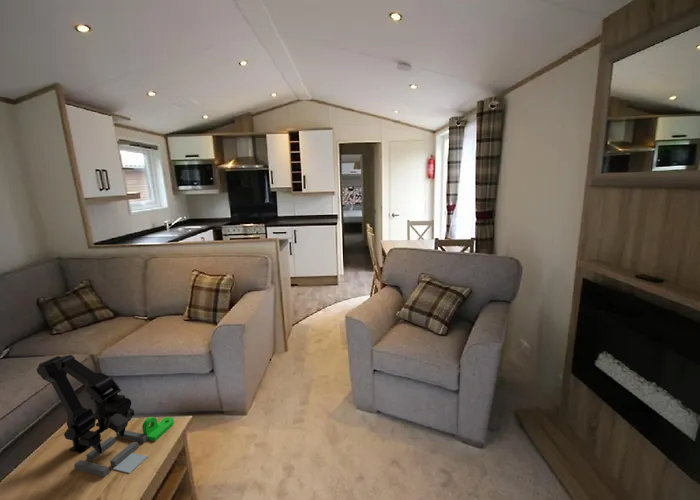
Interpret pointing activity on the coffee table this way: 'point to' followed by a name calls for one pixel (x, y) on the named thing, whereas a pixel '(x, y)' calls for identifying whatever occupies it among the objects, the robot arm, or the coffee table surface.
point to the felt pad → (130, 463)
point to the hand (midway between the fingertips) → (111, 444)
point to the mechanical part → (156, 427)
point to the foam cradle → (104, 470)
